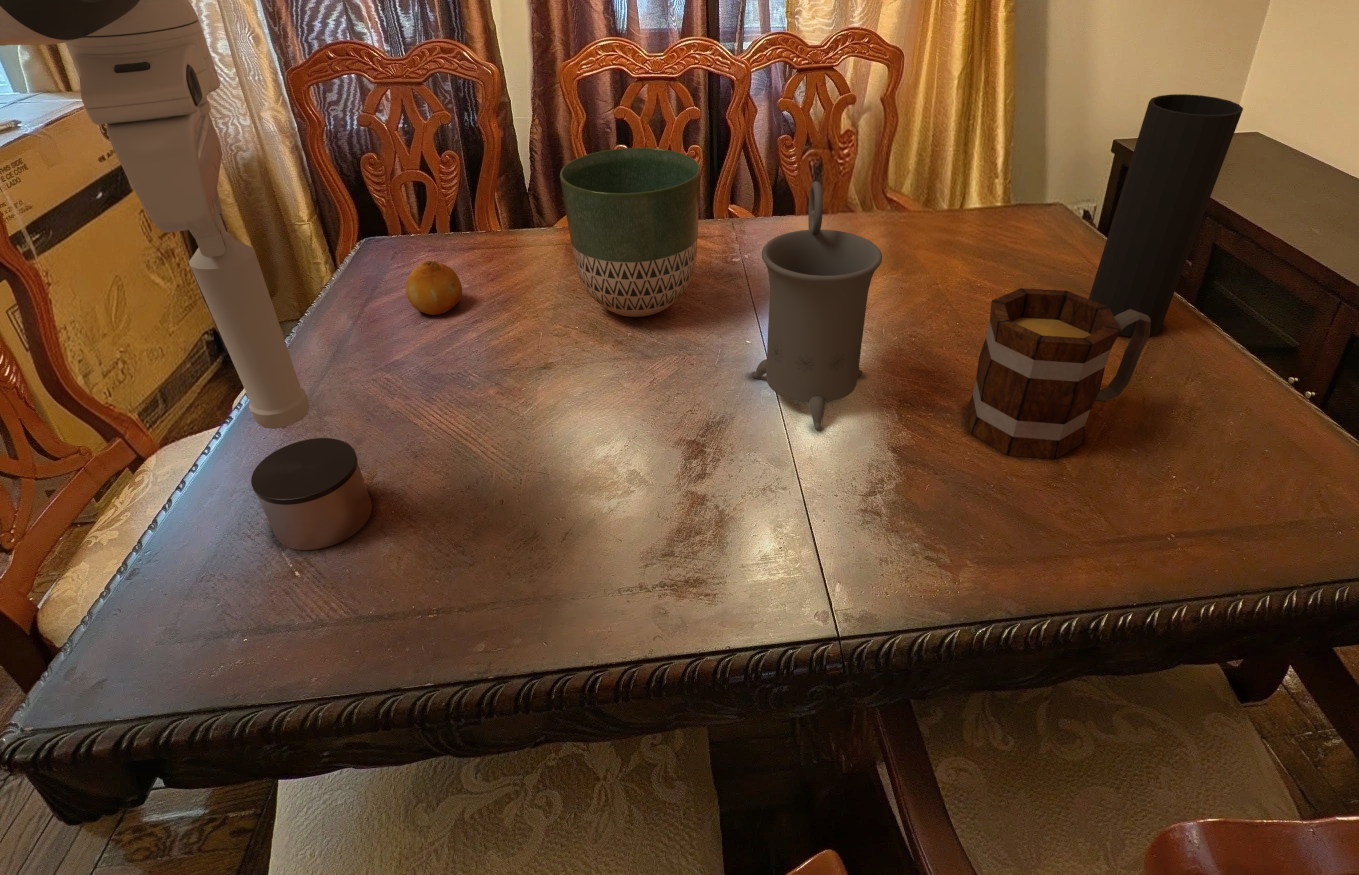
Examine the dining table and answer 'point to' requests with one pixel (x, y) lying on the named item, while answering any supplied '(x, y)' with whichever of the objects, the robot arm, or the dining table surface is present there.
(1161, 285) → the vase
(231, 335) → the bottle
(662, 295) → the planter
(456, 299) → the fruit
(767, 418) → the dining table surface
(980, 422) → the mug
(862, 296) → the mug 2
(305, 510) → the canister
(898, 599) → the dining table surface
